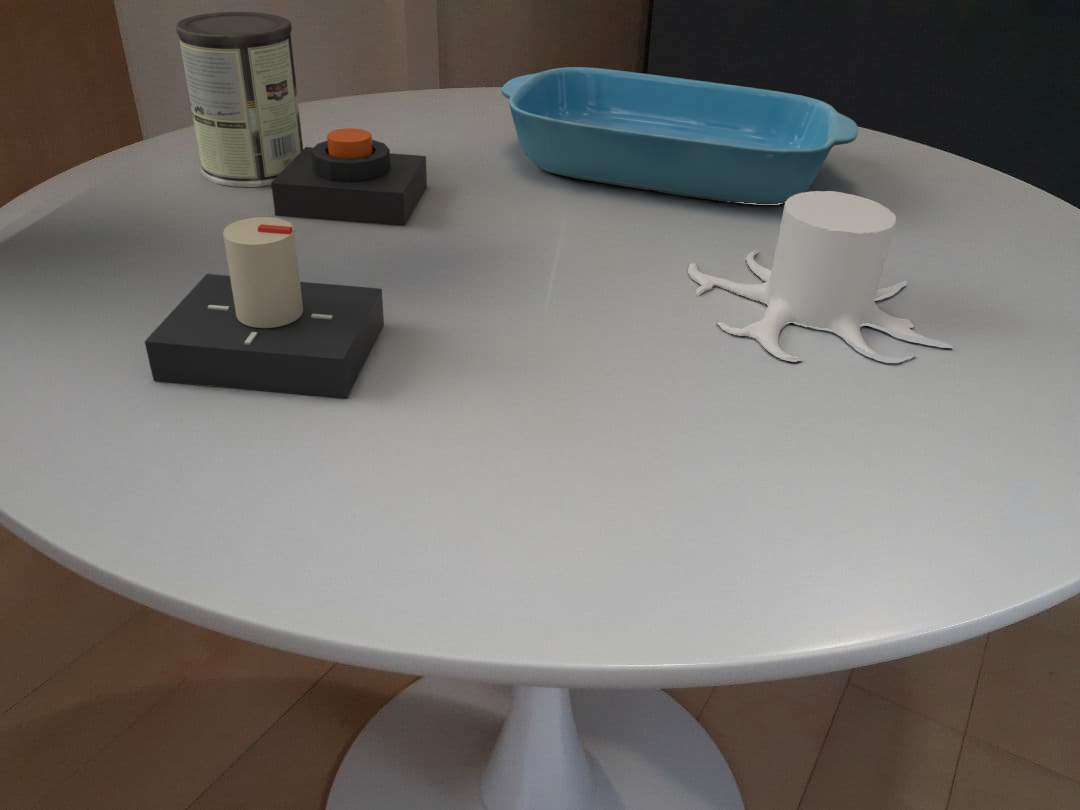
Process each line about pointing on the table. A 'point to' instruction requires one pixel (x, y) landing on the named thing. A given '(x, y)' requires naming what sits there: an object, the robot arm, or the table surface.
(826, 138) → the casserole dish
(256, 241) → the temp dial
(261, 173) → the coffee can
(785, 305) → the tree stump
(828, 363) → the table surface
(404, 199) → the button base
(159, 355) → the dial panel
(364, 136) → the power button
